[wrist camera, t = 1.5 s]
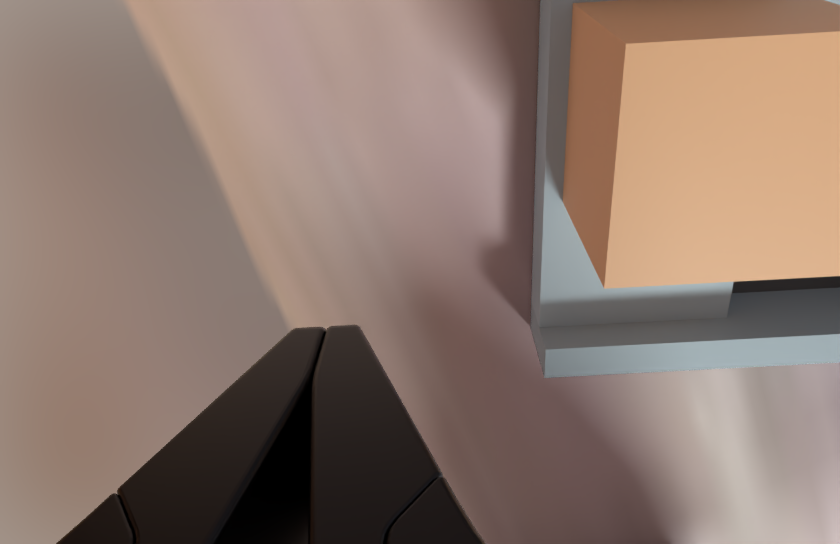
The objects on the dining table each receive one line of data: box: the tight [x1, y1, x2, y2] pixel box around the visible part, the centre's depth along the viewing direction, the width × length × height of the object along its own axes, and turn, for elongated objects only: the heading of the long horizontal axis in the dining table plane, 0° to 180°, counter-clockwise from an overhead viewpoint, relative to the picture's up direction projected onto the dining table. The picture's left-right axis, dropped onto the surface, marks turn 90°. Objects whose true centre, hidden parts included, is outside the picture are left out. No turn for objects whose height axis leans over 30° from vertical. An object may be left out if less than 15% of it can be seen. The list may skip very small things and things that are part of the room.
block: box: [563, 0, 840, 289], centre depth 15 cm, size 5×5×4 cm
